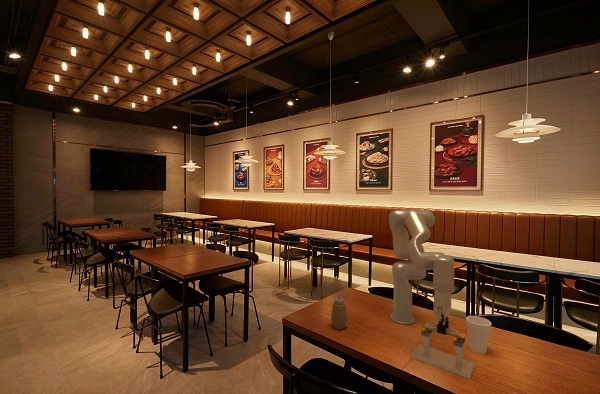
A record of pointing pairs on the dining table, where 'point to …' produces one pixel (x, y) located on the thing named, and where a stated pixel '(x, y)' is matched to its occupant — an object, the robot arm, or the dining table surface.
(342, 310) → the squeeze bottle
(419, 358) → the hook stand
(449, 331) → the candy bar
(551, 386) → the dining table surface
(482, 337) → the foam cup
